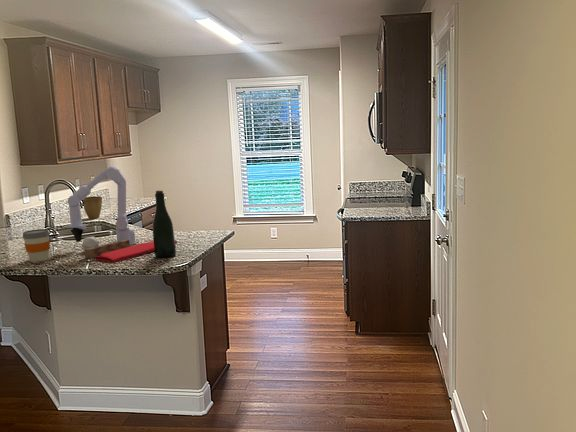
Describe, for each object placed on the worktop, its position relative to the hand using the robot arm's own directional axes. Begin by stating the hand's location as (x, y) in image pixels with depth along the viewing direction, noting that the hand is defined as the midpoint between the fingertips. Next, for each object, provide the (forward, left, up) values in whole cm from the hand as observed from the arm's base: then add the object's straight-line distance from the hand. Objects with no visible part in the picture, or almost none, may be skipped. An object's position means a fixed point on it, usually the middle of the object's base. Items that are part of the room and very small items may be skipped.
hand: (78, 241), depth 307 cm
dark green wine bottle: (-8, +61, -5) cm, 61 cm away
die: (0, +11, -5) cm, 12 cm away
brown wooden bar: (-1, +24, -5) cm, 24 cm away
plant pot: (-77, -96, -5) cm, 123 cm away
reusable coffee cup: (+24, +1, -5) cm, 24 cm away
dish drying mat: (-8, +39, -5) cm, 40 cm away
